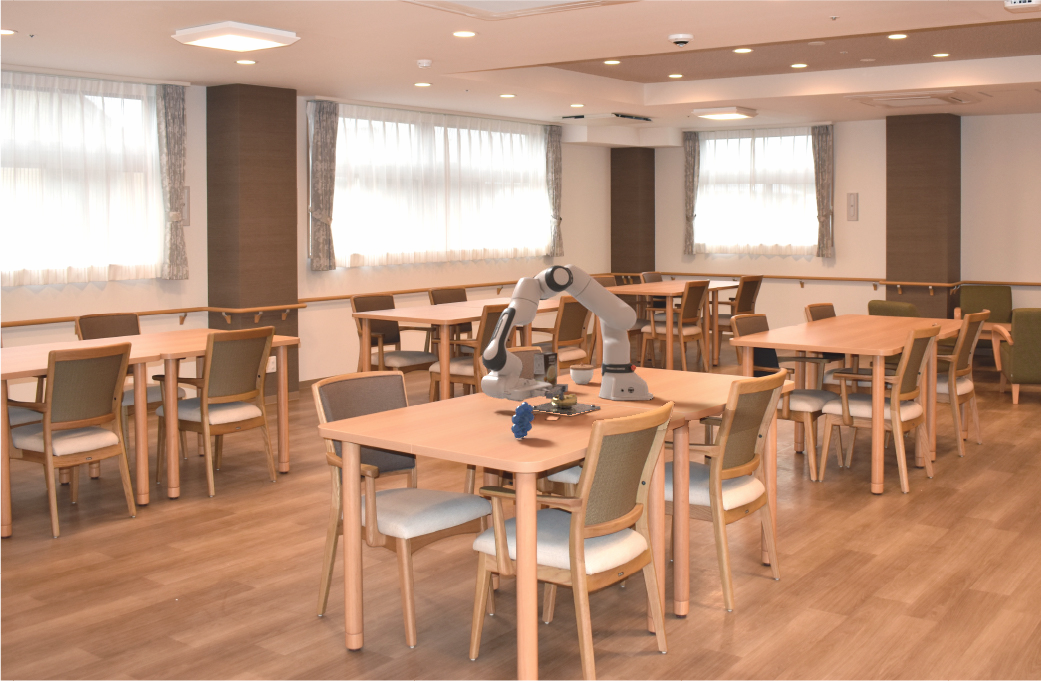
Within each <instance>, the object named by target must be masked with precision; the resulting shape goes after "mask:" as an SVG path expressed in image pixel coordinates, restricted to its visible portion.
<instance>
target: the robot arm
mask: <svg viewBox="0 0 1041 681" xmlns="http://www.w3.org/2000/svg"><path fill="white" fill-rule="evenodd" d="M562 292H566V293H568V294H569V295H570V296H571V297H572V298H574V299H575V300H576V301H577V302H578V303H579V304H581V305H582V306H583V307H584V308H585V309H587V310H589V311H590V312H591V313H592V314H594V315H595V316H597V318H598V320H599V322H600V332H601V338H602V362H601V371H600V372H601V376H602V377H601V383H600V389H599V394H598V397H599V398H602V399H606V400H607V399H608V400H612V401H651V400H653V399H654V398H653V397H654V394H653V393H652V392H649V387H648V383H647V381H646V380H645V379H644V378H642V377H641V376H640V375H638V373H637V372H635V370H637V366H636V365H635V364H633V363H631V343H630V340H629V335H628V330H631V328H633V327H634V326H636V323H637V319H638V317H637V316H638V315H637V312H636V311H635V309H634V308H632V306H630V305H629V304H628V303H626V302H625V301H624V300H622V299H621V298H620V297H618V296H617V295H616V294H614V293H613V292H611V291H610V290H609V289H607V288H605V287H604V286H603V285H602V284H601V283H600V282H598V281H597V280H596V279H595V278H594V277H592V276H591V275H590V274H589V273H588V272H586V271H584V270H583V269H582V268H580V267H579V266H576V265H574V264H572V263H569V264H565V265H564V266H563V265H557V264H556V265H552V266H549V267H547V268H545V269H543V270H542V271H540V272H539V273H538V274H536V275H534V276H533V277H531V276H523V277H520V278H519V279H518V281H517V282H516V284H515V286H514V290H513V292H512V295H511V297H510V300H509V304H508V306H507V308H505V309H504V310H502V313H500V316H499V317H498V320H497V322H496V324H495V327H494V330H493V331H492V334H491V337H490V339H489V341H488V344H486V346H485V348H484V350H483V352H482V354H481V355H482V356H481V362H482V365H483V367H485V368H486V369H487V370H490V372H489V373H488V374H486V375H484V376H483V377H482V378H481V381H480V388H481V389H482V392H483V393H484V394H485V395H486V396H487V397H491V398H495V399H500V400H504V399H505V400H508V401H513V402H519V403H521V402H523V401H525V400H529V399H532V398H533V399H534V398H537V397H542V398H543V397H544V398H545V397H546V393H547V392H548V391H550V390H552V389H553V386H552V384H550V383H546V382H541V381H535V379H534V378H525V377H521V376H522V372H523V369H524V363H523V361H522V359H521V358H520V357H518V356H517V355H515V354H514V353H512V352H511V351H509V350H508V348H507V345H506V344H507V341H508V339H509V336H510V334H511V331H512V328H513V327H514V326H528V325H529V324H530V323H532V322H534V319H536V316H537V312H538V308H539V305H540V301H547V300H548V299H551V298H553V297H556V296H558V295H559V294H560V293H562ZM652 398H653V399H652ZM650 399H651V400H650Z"/></svg>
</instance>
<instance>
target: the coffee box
mask: <svg viewBox="0 0 1041 681" xmlns="http://www.w3.org/2000/svg"><path fill="white" fill-rule="evenodd" d="M533 379H535V381H541V382H546V383H550V384H552V386H553V388H555V385H557V384H558V352H554V351H553V352H552V351H543V352H537V353H534V354H533Z"/></svg>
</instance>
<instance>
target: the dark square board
mask: <svg viewBox="0 0 1041 681" xmlns="http://www.w3.org/2000/svg"><path fill="white" fill-rule="evenodd" d="M531 406H532V408H533V410H539V411H546V412H553V413H560V414H567V415H572V414H576V413H581V412H585V411H590V410H594V411H596V410H595V409H598V410H600V409H601V405H595V404H588V403H587V404H586V403H579V402H577V404H576V405H572V406H557V405H552V404H551V401H550V402H546V403H542V404H541V403H540V404H538V405H537V404H536V405H531ZM590 412H591V411H590Z"/></svg>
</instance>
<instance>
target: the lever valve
mask: <svg viewBox="0 0 1041 681" xmlns="http://www.w3.org/2000/svg"><path fill="white" fill-rule="evenodd" d="M568 391H569V384H567V383H557V385H555V388H553V389H552V390H550V391H548V392H547V393H546V396H545V399H550V402H551V404H552V405H557V406H572V405H576V404H577V403H578V396H577V394H576V393H569V394H565V393H566V392H567V393H568Z"/></svg>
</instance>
